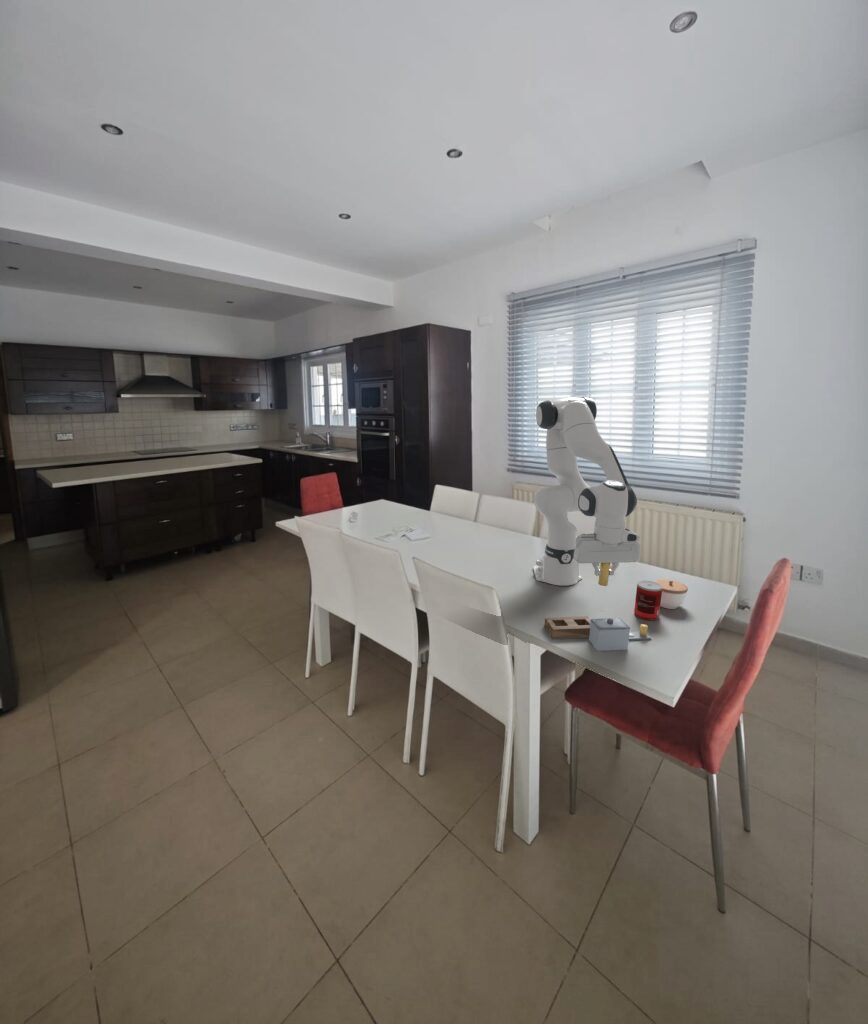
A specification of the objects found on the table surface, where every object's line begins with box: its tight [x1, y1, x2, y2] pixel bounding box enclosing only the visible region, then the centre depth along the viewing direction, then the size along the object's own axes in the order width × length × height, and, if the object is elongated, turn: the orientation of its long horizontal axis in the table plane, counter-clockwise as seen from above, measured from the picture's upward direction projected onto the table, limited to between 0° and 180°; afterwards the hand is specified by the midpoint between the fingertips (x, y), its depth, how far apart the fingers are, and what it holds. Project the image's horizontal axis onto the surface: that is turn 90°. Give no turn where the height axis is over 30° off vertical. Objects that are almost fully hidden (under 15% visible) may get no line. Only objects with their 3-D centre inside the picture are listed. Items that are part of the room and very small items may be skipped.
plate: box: [628, 623, 652, 642], centre depth 139 cm, size 4×7×4 cm, turn 95°
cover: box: [588, 617, 631, 652], centre depth 134 cm, size 6×9×8 cm, turn 95°
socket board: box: [543, 615, 592, 640], centre depth 143 cm, size 8×14×3 cm, turn 95°
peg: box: [598, 563, 611, 587], centre depth 145 cm, size 3×3×8 cm
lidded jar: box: [654, 579, 689, 610], centre depth 161 cm, size 11×11×9 cm
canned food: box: [633, 580, 662, 621], centre depth 153 cm, size 8×8×11 cm
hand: (603, 574), depth 146 cm, fingers closed on peg, 3 cm apart
